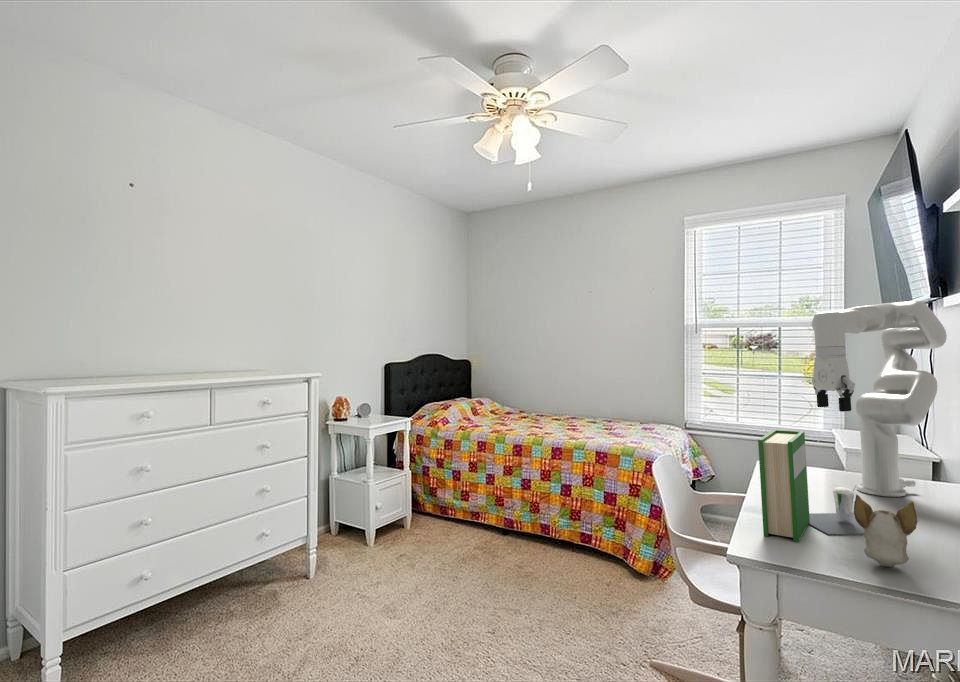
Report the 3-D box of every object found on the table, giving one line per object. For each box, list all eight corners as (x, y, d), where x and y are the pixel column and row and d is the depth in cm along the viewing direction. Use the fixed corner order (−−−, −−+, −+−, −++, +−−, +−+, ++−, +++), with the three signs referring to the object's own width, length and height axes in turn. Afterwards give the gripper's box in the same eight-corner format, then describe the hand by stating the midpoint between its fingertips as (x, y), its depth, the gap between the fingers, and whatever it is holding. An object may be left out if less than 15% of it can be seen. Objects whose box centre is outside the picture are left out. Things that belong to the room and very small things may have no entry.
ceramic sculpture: (918, 566, 109) (915, 495, 110) (920, 581, 103) (917, 505, 103) (856, 555, 116) (853, 488, 116) (854, 568, 109) (852, 497, 109)
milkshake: (862, 525, 134) (860, 486, 134) (838, 524, 135) (837, 486, 135) (853, 520, 138) (852, 482, 138) (830, 519, 139) (829, 481, 139)
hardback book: (798, 542, 124) (792, 442, 124) (763, 536, 129) (758, 439, 129) (809, 521, 137) (804, 431, 138) (778, 516, 142) (773, 429, 143)
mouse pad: (863, 514, 144) (863, 512, 144) (910, 534, 128) (910, 532, 128) (791, 515, 144) (790, 513, 144) (828, 535, 128) (828, 533, 128)
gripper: (800, 352, 164) (803, 406, 164) (838, 353, 147) (841, 413, 147) (823, 351, 164) (826, 404, 164) (864, 352, 147) (867, 412, 147)
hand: (833, 409), depth 155 cm, fingers open, 9 cm apart
